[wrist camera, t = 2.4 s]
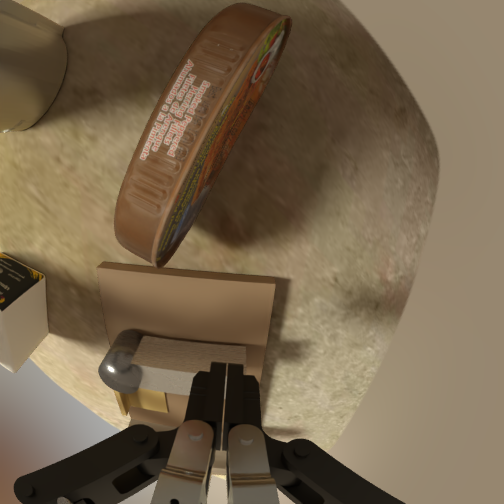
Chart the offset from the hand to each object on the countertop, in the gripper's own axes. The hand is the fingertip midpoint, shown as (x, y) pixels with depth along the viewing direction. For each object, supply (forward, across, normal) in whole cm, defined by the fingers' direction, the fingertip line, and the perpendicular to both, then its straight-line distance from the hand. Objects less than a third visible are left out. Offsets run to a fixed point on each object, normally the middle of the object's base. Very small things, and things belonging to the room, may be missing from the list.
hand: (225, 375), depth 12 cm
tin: (+9, +2, -11) cm, 14 cm away
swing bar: (+7, +4, +5) cm, 10 cm away
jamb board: (+9, +4, +8) cm, 13 cm away
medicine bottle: (+9, +21, +3) cm, 23 cm away
